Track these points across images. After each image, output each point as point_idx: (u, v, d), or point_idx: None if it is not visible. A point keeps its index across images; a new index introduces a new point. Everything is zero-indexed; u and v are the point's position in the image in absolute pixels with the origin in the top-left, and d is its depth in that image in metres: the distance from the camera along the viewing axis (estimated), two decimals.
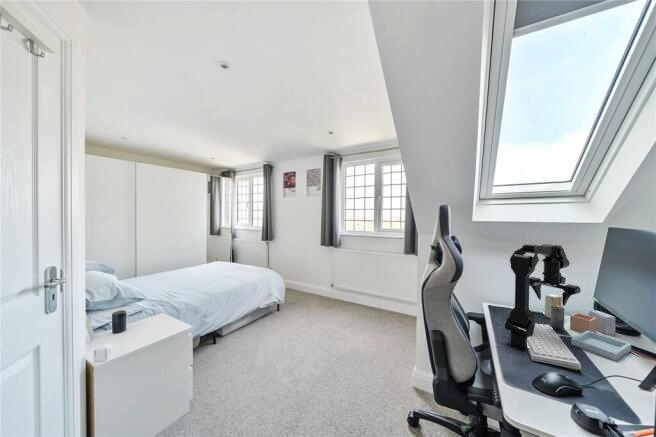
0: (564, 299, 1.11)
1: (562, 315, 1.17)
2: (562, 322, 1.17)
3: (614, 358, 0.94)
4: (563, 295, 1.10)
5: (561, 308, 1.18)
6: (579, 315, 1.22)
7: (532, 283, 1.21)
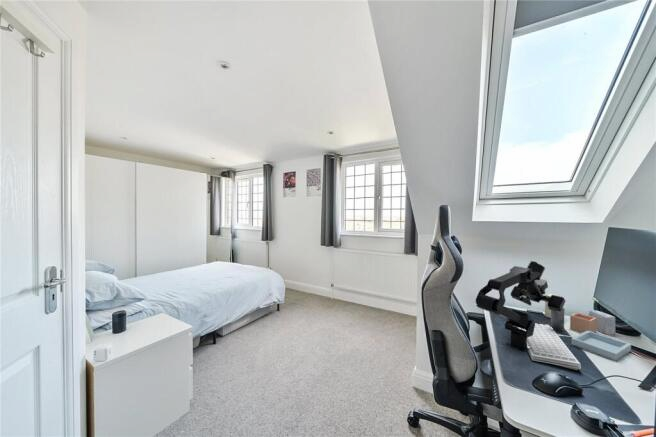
0: (553, 311, 1.07)
1: (562, 315, 1.17)
2: (562, 322, 1.17)
3: (614, 358, 0.94)
4: (550, 309, 1.06)
5: None
6: (579, 315, 1.22)
7: (517, 298, 1.15)
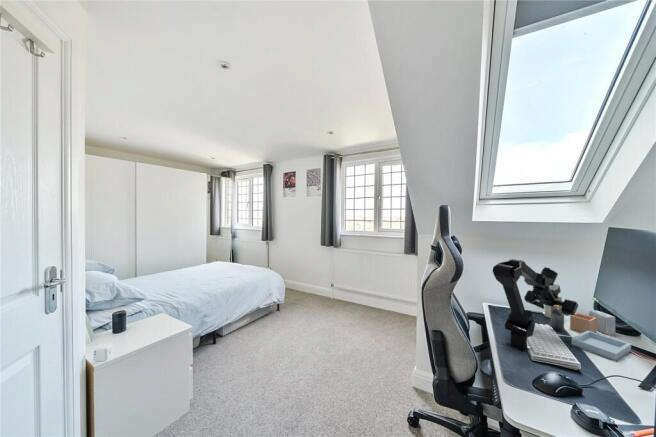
0: (566, 314, 1.12)
1: (562, 315, 1.17)
2: (562, 322, 1.17)
3: (614, 358, 0.94)
4: (564, 313, 1.11)
5: None
6: (579, 315, 1.22)
7: (531, 302, 1.21)
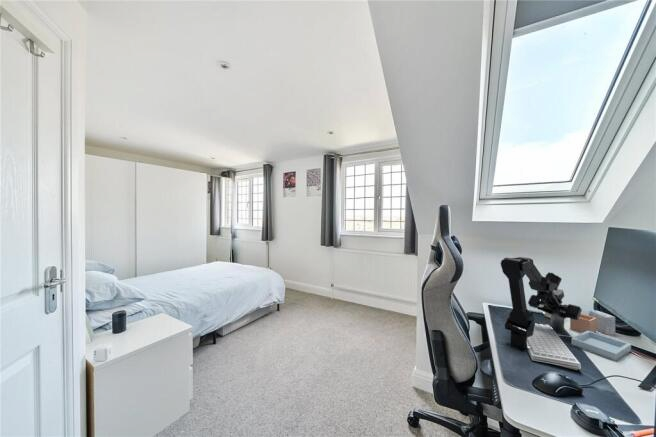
0: (564, 317, 1.15)
1: None
2: (562, 322, 1.17)
3: (614, 358, 0.94)
4: (562, 316, 1.14)
5: None
6: None
7: (535, 307, 1.22)
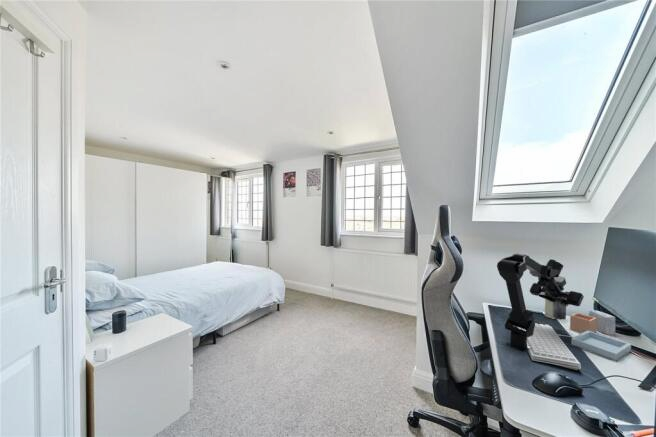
0: (566, 304, 1.15)
1: None
2: (564, 309, 1.17)
3: (614, 358, 0.94)
4: (563, 303, 1.14)
5: None
6: (579, 315, 1.22)
7: (536, 294, 1.22)
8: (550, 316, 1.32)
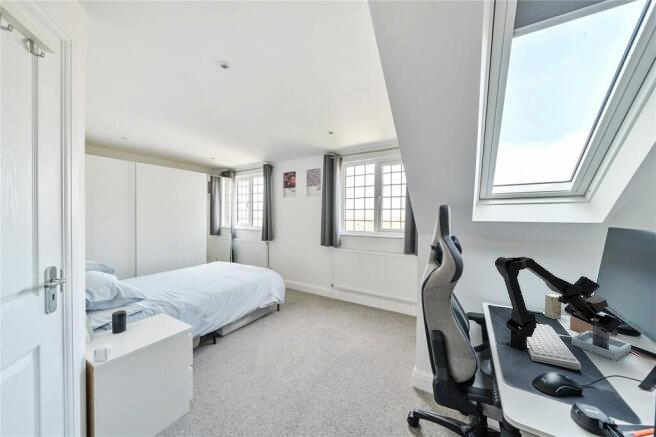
0: (609, 332, 0.98)
1: None
2: (604, 338, 1.01)
3: (614, 358, 0.94)
4: None
5: None
6: None
7: (571, 314, 1.10)
8: (550, 316, 1.32)
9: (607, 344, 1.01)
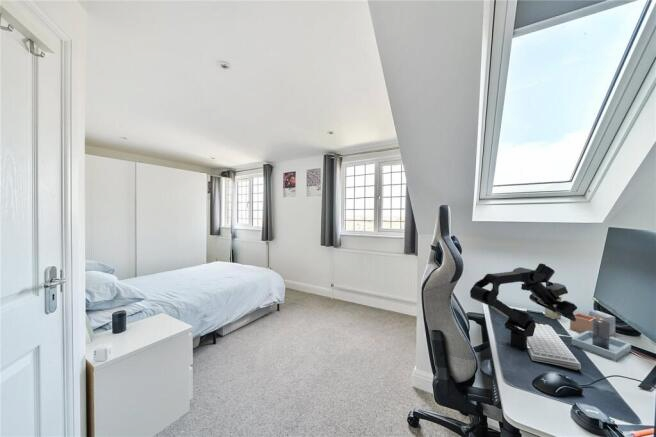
0: None
1: (604, 330, 1.01)
2: (604, 338, 1.01)
3: (614, 358, 0.94)
4: (561, 315, 1.01)
5: (605, 322, 1.02)
6: (579, 315, 1.22)
7: (535, 302, 1.13)
8: (550, 316, 1.32)
9: (607, 344, 1.01)
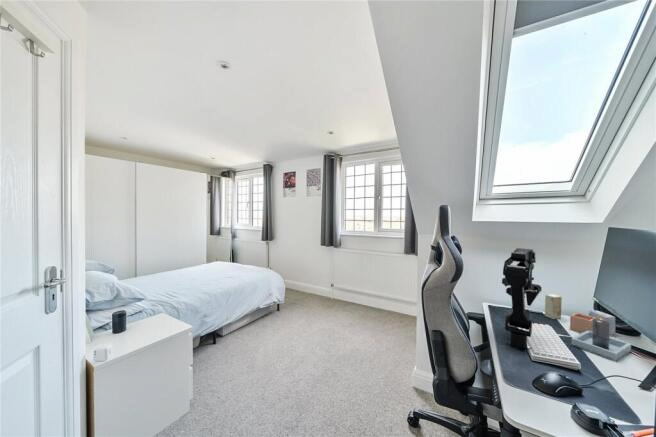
0: (534, 299, 1.16)
1: (604, 330, 1.01)
2: (604, 338, 1.01)
3: (614, 358, 0.94)
4: (536, 295, 1.15)
5: (604, 322, 1.02)
6: (579, 315, 1.22)
7: (524, 294, 1.10)
8: (550, 316, 1.32)
9: (607, 344, 1.01)
